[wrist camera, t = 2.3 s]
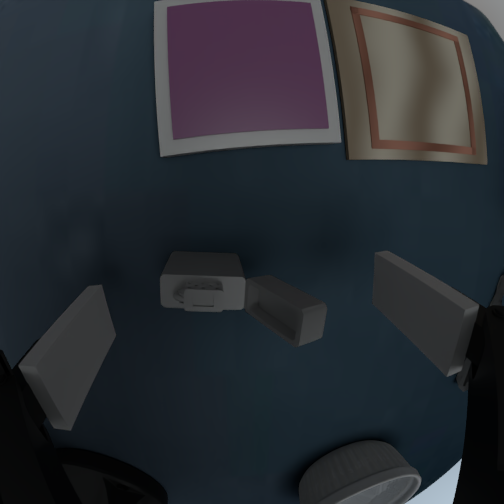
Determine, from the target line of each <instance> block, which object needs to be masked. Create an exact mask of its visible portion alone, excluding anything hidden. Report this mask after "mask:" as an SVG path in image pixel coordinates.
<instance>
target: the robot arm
mask: <svg viewBox="0 0 504 504" xmlns="http://www.w3.org/2000/svg"><path fill="white" fill-rule="evenodd" d="M372 304H373V305H374V306H375V307H376V308H377V309H379V310H380V311H381V312H382V313H383V314H384V315H385V316H386V317H387V318H388V319H389V320H390V321H391V322H392V323H393V324H394V325H395V326H396V327H397V328H398V329H399V330H400V331H401V332H402V333H403V334H404V335H405V336H407V337H408V338H409V339H410V340H411V341H412V342H413V343H414V344H415V345H416V346H417V347H418V348H419V349H420V350H421V351H422V352H423V353H424V354H425V355H426V356H427V357H428V358H429V359H430V360H431V361H432V362H433V363H434V364H435V365H436V366H437V367H438V368H439V369H440V370H441V371H442V373H443V374H444V375H445V376H446V377H448V376H450V375H453V374H455V373H457V372H459V371H461V370H462V367H463V364H464V361H465V358H466V357H467V358H468V359H469V360H470V361H471V364H470V367H469V370H468V373H467V376H466V378H465V381H464V384H463V386H466V383H467V382H468V406H467V420H466V431H465V440H464V447H463V455H462V461H461V467H460V473H459V479H458V483H457V488H456V493H455V497H454V501H453V504H504V306H500V305H492V306H489V307H488V308H485V307H483V306H482V305H480V304H479V303H477V302H476V301H474V300H472V299H471V298H469V297H467V296H466V295H464V294H463V293H462V294H461V292H459V291H458V290H456V289H454V288H453V287H450V286H448V285H446V284H445V283H443V282H441V281H440V280H438V279H436V278H435V277H433V276H431V275H430V274H428V273H426V272H424V271H423V270H421V269H419V268H418V267H416V266H414V265H412V264H411V263H409V262H407V261H405V260H403V259H402V258H400V257H398V256H396V255H394V254H393V253H391V252H389V251H383V252H375V263H374V283H373V298H372ZM115 337H116V333H115V330H114V326H113V323H112V320H111V316H110V313H109V309H108V306H107V302H106V299H105V295H104V291H103V287H102V285H95V286H88V287H87V288H86V289H85V290H84V291H83V292H82V293H81V294H80V295H79V296H78V297H77V298H76V300H75V301H74V302H73V303H72V304H71V305H70V306H69V307H68V308H67V309H66V310H65V311H64V313H63V314H62V315H61V316H60V317H59V318H58V319H57V320H56V321H55V323H54V324H53V325H52V326H51V327H50V328H49V329H48V330H47V332H46V333H45V334H44V335H43V336H42V337H41V338H39V339H38V340H37V341H35V343H34V344H33V345H32V346H31V347H30V349H29V350H28V351H27V352H26V353H25V355H24V356H23V357H22V358H21V359H20V360H19V362H18V363H17V364H16V365H15V367H14V368H13V369H11V367H10V365H9V363H8V361H7V359H6V357H5V355H4V353H3V351H2V350H0V504H168V496H167V493H166V492H165V490H164V489H163V488H162V486H161V485H160V484H158V483H157V482H156V481H155V480H153V479H152V478H151V477H149V476H147V475H146V474H144V473H142V472H141V471H139V470H137V469H135V468H133V467H131V466H129V465H126V464H124V463H122V462H119V461H117V460H114V459H111V458H108V457H106V456H102V455H99V454H96V453H92V452H88V451H83V450H77V449H57V450H55V448H54V446H53V444H52V441H51V439H50V436H49V434H48V431H47V430H46V428H45V427H44V425H43V422H44V420H45V418H46V417H47V418H48V420H49V421H50V423H51V425H52V426H53V428H56V429H62V430H69V431H71V429H72V427H73V425H74V422H75V420H76V418H77V415H78V413H79V411H80V409H81V407H82V404H83V402H84V400H85V398H86V396H87V394H88V391H89V389H90V387H91V385H92V383H93V381H94V379H95V377H96V375H97V373H98V371H99V369H100V366H101V364H102V362H103V360H104V358H105V356H106V355H107V353H108V351H109V349H110V347H111V345H112V343H113V341H114V339H115Z"/></svg>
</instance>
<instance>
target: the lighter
mask: <svg viewBox="0 0 504 504" xmlns="http://www.w3.org/2000/svg"><path fill="white" fill-rule="evenodd" d="M160 295H161V305H162V306H163V307H166V308H185V311H202V312H221V311H222V310H241V309H242V308H243V307H244V308H245V311H246V312H247V313H249V314H250V315H251V316H253V317H254V318H255V319H257V320H258V321H259V322H261V323H262V324H263V325H265V326H266V327H268V328H269V329H270V330H272V331H273V332H274V333H276V334H277V335H279V336H280V337H281V338H283V339H284V340H286V341H287V342H288V343H290V344H291V345H293V346H294V347H298V346H301V345H304V344H307V343H309V342H312V341H315V340H318V339H320V338H322V334H323V329H324V323H325V318H326V312H327V306H326V304H325V303H324V302H322V301H320V300H318V299H316V298H314V297H313V296H311V295H309V294H307V293H305V292H303V291H301V290H299V289H297V288H295V287H293V286H291V285H289V284H287V283H285V282H283V281H281V280H279V279H277V278H276V277H274V276H272V275H266V276H259V277H253V278H248V279H247V280H246V278H245V275H244V272H243V269H242V265H241V262H240V259H239V256H238V255H237V254H236V253H213V252H185V251H173V252H172V253H171V255H170V257H169V259H168V261H167V263H166V266H165V268H164V270H163V272H162V274H161V276H160Z"/></svg>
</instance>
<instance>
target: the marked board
mask: <svg viewBox="0 0 504 504" xmlns="http://www.w3.org/2000/svg"><path fill="white" fill-rule="evenodd" d="M324 3H325V8H326V12H327V17H328V22H329V27H330V32H331V38H332V43H333V49H334V55H335V61H336V68H337V75H338V82H339V89H340V97H341V105H342V114H343V124H344V134H345V146H346V159H347V160H365V159H382V160H425V161H445V162H461V163H474V164H485V165H487V149H486V136H485V125H484V117H483V109H482V102H481V95H480V90H479V84H478V79H477V74H476V69H475V64H474V60H473V56H472V52H471V48H470V44H469V40H468V37H467V35H465V34H462V33H460V32H458V31H455V30H453V29H450V28H448V27H445V26H443V25H440V24H437V23H434V22H432V21H429V20H426V19H423V18H420V17H417V16H414V15H411V14H407V13H404V12H400V11H397V10H393V9H389V8H386V7H382V6H377V5H373V4H369V3H364V2H359V1H354V0H324Z"/></svg>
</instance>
